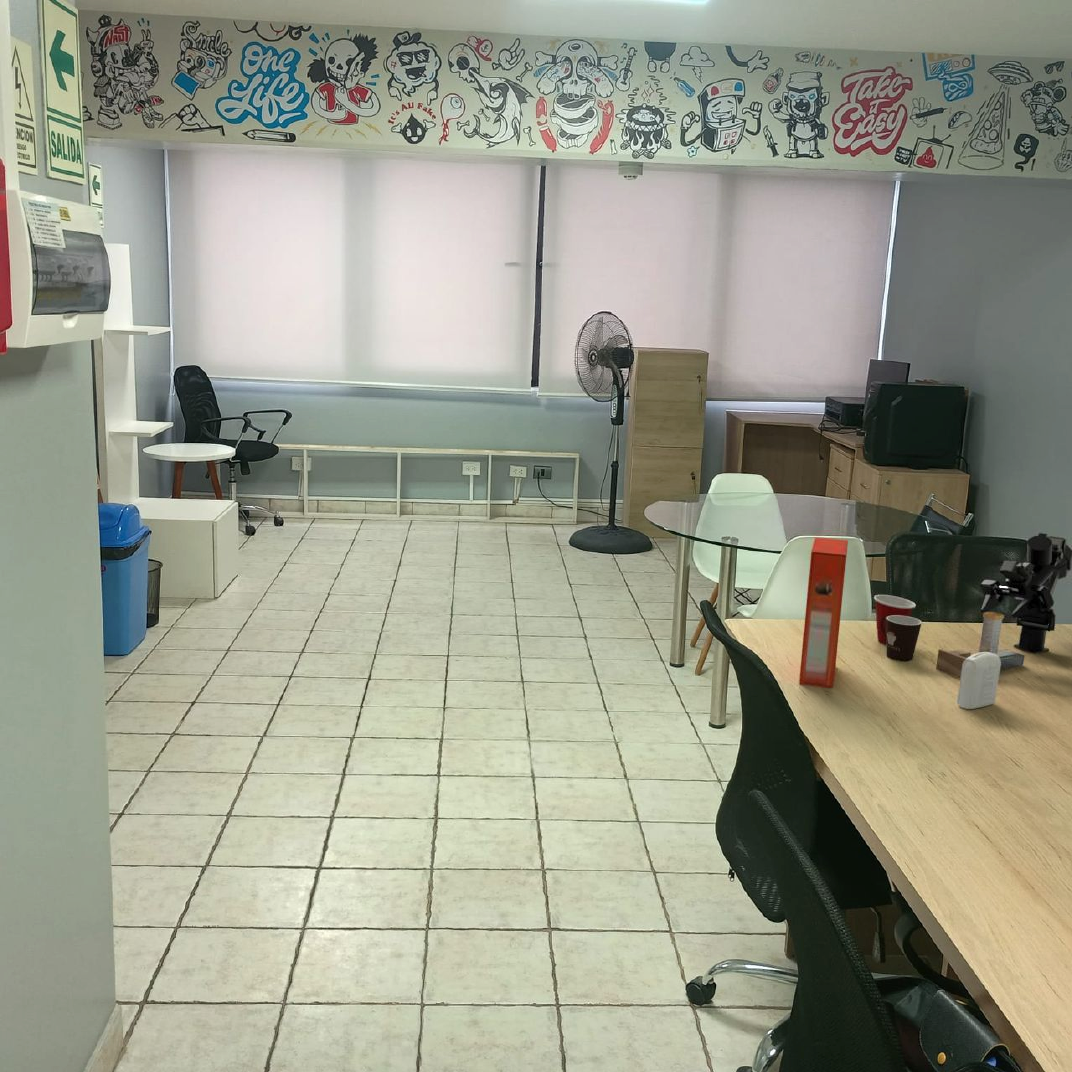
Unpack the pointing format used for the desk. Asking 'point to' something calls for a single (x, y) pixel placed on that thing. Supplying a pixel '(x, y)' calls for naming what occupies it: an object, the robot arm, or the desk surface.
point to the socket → (952, 661)
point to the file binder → (823, 612)
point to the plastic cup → (890, 611)
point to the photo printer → (979, 680)
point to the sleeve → (1011, 661)
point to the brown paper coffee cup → (901, 636)
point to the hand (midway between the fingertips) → (997, 614)
